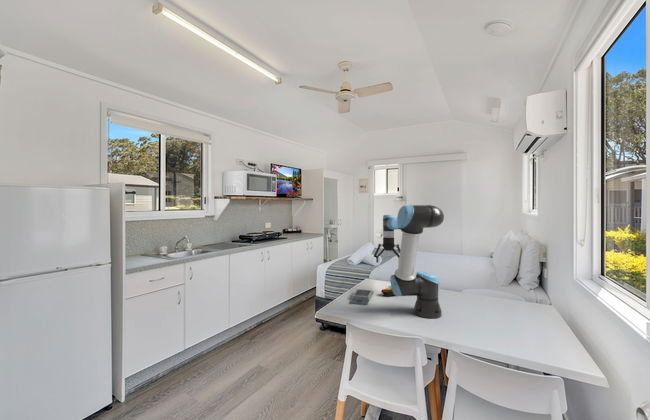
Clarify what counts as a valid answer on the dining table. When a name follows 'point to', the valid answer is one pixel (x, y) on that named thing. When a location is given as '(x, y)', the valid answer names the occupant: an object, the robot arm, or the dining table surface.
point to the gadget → (387, 291)
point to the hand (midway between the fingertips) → (388, 267)
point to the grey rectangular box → (361, 297)
